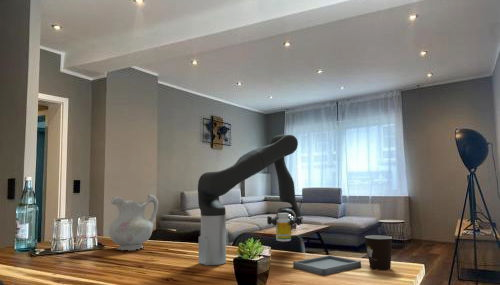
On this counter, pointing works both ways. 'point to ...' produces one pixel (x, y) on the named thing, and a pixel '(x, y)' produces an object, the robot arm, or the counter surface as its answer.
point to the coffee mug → (379, 251)
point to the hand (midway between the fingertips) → (282, 222)
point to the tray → (326, 264)
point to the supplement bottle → (283, 227)
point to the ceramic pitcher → (132, 223)
